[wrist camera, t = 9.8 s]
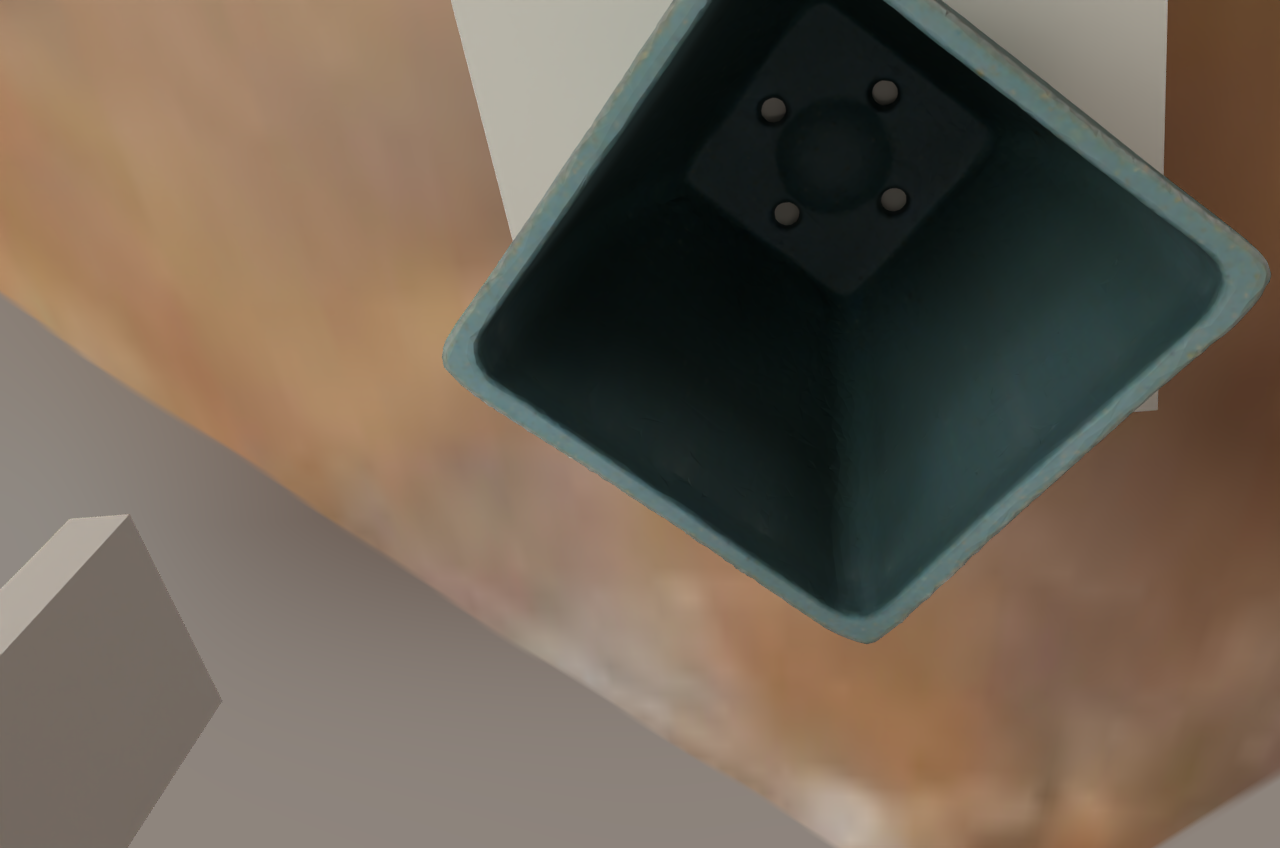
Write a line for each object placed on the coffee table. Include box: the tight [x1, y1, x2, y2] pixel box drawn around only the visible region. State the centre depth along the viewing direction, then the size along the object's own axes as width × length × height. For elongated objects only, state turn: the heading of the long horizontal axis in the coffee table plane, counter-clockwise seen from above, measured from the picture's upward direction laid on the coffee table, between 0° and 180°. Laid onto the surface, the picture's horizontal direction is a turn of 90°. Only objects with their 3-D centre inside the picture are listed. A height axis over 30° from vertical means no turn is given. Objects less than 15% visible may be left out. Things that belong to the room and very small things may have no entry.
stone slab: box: [451, 0, 1168, 458], centre depth 27 cm, size 14×14×6 cm
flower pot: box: [442, 0, 1271, 644], centre depth 21 cm, size 9×9×9 cm
